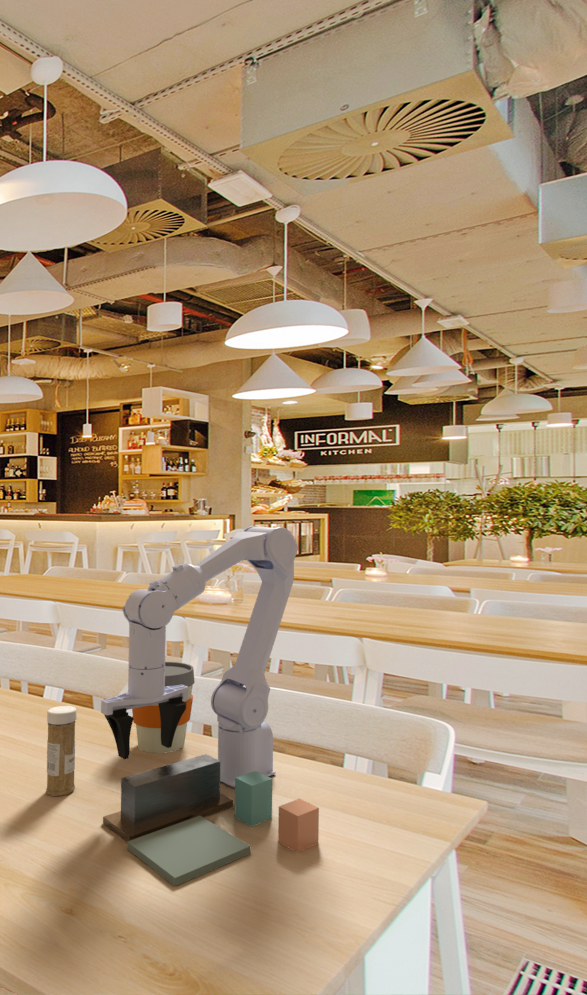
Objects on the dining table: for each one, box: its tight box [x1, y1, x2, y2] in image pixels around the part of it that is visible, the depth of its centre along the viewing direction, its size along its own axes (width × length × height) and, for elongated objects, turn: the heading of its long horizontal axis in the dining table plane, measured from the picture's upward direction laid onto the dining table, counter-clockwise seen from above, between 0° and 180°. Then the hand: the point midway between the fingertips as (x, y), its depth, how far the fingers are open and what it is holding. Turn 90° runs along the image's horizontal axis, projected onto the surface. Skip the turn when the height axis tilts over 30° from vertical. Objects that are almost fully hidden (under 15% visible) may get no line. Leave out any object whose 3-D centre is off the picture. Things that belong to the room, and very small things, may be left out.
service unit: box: [102, 753, 234, 843], centre depth 102 cm, size 18×8×7 cm, turn 133°
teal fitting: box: [234, 771, 273, 828], centre depth 101 cm, size 4×4×6 cm
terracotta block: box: [277, 798, 320, 854], centre depth 94 cm, size 4×4×5 cm
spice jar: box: [45, 705, 78, 797], centre depth 110 cm, size 5×5×14 cm
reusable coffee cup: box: [131, 661, 195, 754], centre depth 132 cm, size 13×13×15 cm
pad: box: [126, 816, 251, 887], centre depth 91 cm, size 12×12×1 cm
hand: (145, 751), depth 106 cm, fingers open, 7 cm apart
